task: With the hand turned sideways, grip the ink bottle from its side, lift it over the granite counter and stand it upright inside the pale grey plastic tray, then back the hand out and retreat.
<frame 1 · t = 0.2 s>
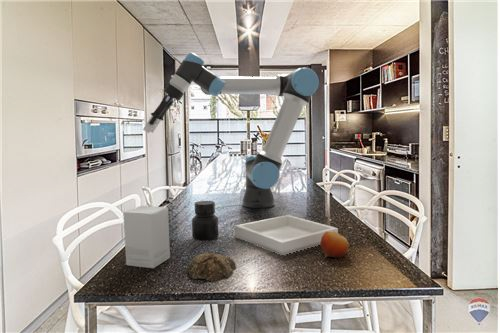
hand: (147, 131, 156), 35 cm above the table, tool tilted 35°, fingers open, 13 cm apart
brown lumpy mound: (210, 273, 99), on the table
fruit: (334, 256, 110), on the table
ink bottle: (205, 238, 129), on the table
tray: (285, 238, 126), on the table
supplement box: (148, 262, 107), on the table
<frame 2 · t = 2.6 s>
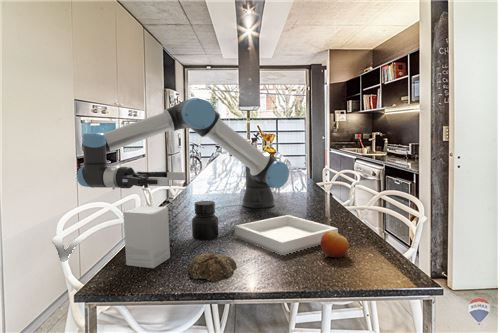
hand: (176, 178, 129), 20 cm above the table, tool horizontal, fingers open, 13 cm apart
nothing on the table moved.
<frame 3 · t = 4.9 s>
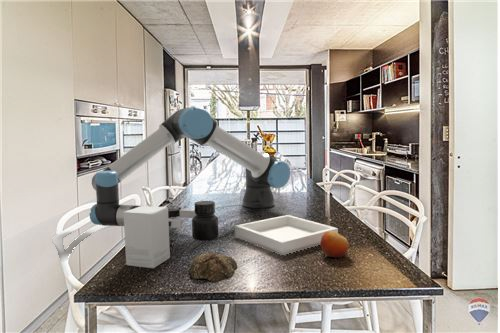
hand: (189, 218, 129), 6 cm above the table, tool horizontal, fingers open, 13 cm apart
nothing on the table moved.
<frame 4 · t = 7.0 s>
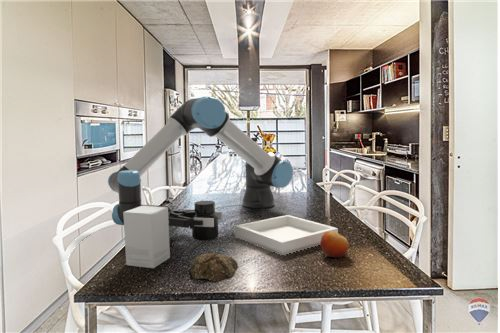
hand: (217, 219, 127), 7 cm above the table, tool horizontal, fingers closed on ink bottle, 9 cm apart
ink bottle: (205, 238, 129), on the table, touching gripper
everything else where it was.
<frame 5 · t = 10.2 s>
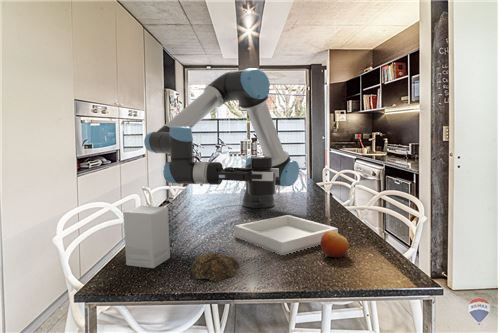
hand: (275, 174, 122), 22 cm above the table, tool horizontal, fingers closed on ink bottle, 9 cm apart
ink bottle: (261, 194, 124), point 15 cm above the table, touching gripper
everything else where it was.
when the fingers open (9 cm above the table, at t = 13.7 s): ink bottle drops 1 cm, resting on tray.
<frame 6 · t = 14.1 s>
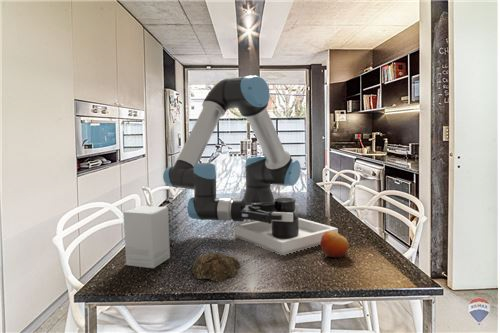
hand: (295, 212, 125), 9 cm above the table, tool horizontal, fingers open, 13 cm apart
ink bottle: (285, 235, 127), point 1 cm above the table, touching tray
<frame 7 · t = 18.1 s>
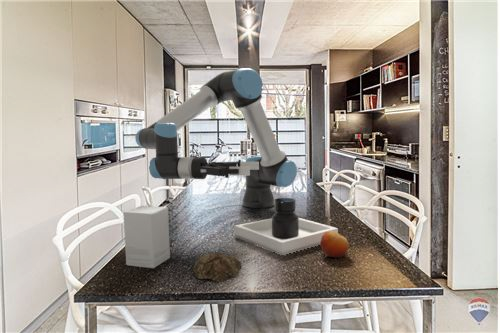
hand: (254, 168, 126), 23 cm above the table, tool horizontal, fingers open, 13 cm apart
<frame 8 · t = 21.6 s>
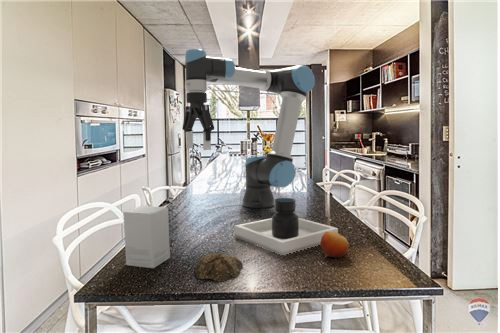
hand: (198, 149, 145), 29 cm above the table, tool pointing down, fingers open, 13 cm apart
at the end: ink bottle inside the target area on the tray (0.2 cm from its centre), point 0.8 cm above the tray's base; ink bottle tilted 0°; the gripper is holding nothing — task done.
